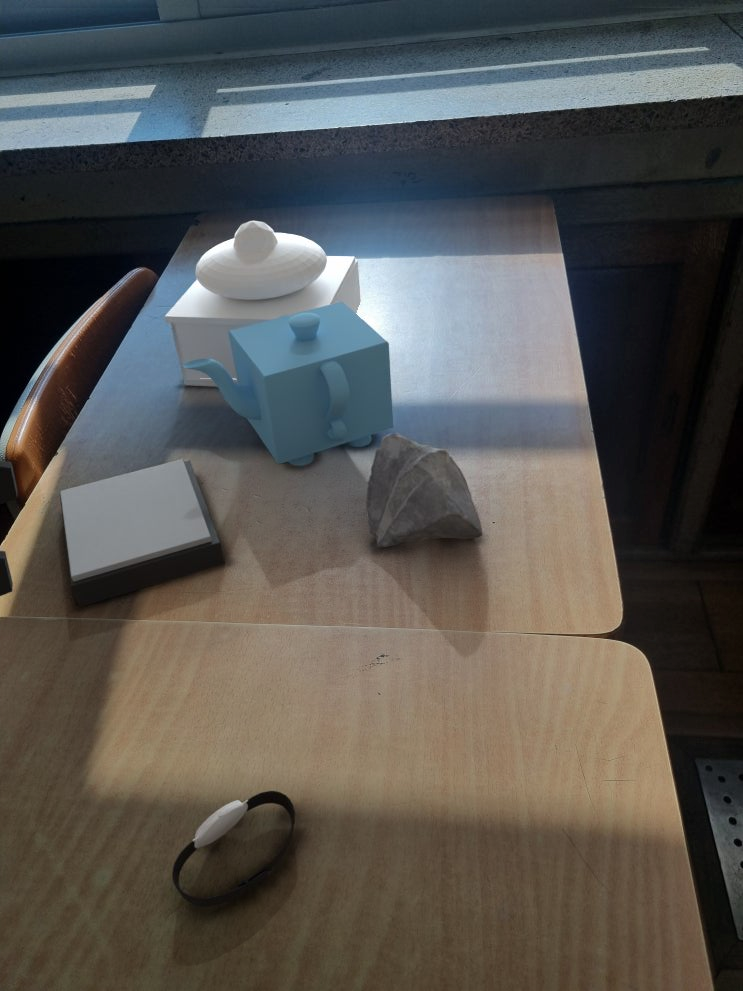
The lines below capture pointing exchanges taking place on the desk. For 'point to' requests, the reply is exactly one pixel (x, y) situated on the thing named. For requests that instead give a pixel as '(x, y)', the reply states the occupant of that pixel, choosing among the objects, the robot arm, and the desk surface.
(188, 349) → the butter dish
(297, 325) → the teapot
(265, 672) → the desk surface
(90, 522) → the scale
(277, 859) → the watch
